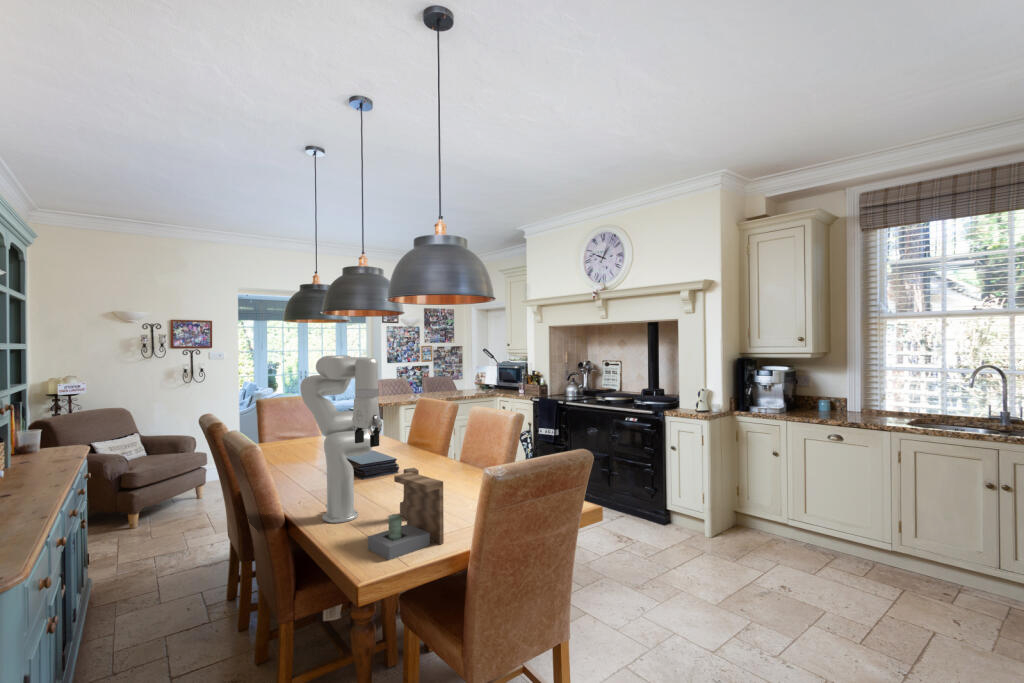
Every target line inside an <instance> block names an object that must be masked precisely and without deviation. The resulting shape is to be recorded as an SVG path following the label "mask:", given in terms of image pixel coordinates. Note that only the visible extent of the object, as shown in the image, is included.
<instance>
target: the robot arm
mask: <svg viewBox="0 0 1024 683" xmlns="http://www.w3.org/2000/svg"><path fill="white" fill-rule="evenodd" d="M315 370H316V373H318V374H314V375H310V376H309V375H308V376H306V377H305V378H303V379H302V380H301V382H300V386H299V387H300V396H301V398H302V401H303V403H304V405H305V406H306V407H307V409H308V410H309V412H311V414H312V415H313V418H314V419H315V422H316V424H317V426H318V429H319V431H320V432H321V434H322V436H324V437H325V438H324V440H323V441H324V442H323V448H324V449H323V450H324V455H325V461H326V462H325V464H326V504H325V508H326V513H324V514H323V515H322V520H323V521H324V522H326V523H329V524H330V523H332V524H335V523H336V524H338V523H345V522H350V521H353V520H354V519H356V518H358V516H359V511H357V510H356V509H355V489H354V487H355V483H354V482H355V478H354V477H355V473H354V466H353V465H352V463H351V462H350V461H349V460H348V459H349V458H351V457H357V456H364V455H367V454H369V453H370V452H371V450H373V449H372V448H374V447H380V434H381V431H382V426H383V421H382V420H381V418H380V406H379V405H380V404H379V399H378V398H379V362H378V360H377V358H373V357H366V356H358V357H356V356H351V355H346V354H345V355H344V354H343V355H325V356H322V357H320V358H319V359H318V360H317V361H316V363H315ZM352 379H354V391H355V392H354V402H353V410H348V411H338V410H337V408H336V405H335V404H334V403H333V402H332V401H331V400H329V399H328V398H327V397H326V396H338V395H339V396H340V395H343V394H344V393H345V392H346V391H347V389H348V387H349V385H350V383H351V381H352ZM324 396H325V397H324Z"/></svg>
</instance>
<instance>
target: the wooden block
mask: <svg viewBox="0 0 1024 683" xmlns="http://www.w3.org/2000/svg"><path fill="white" fill-rule="evenodd" d="M409 472H412V473H415V474H419V475H420V473H419V469H417V468H415V467H411V468H410V467H409V468H403V474H404V473H409ZM399 515H400V516H401V517H403V519H405V520H407V486H406V485H403V499H402V501H400V502H399Z"/></svg>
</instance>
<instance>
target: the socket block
mask: <svg viewBox="0 0 1024 683" xmlns="http://www.w3.org/2000/svg"><path fill="white" fill-rule="evenodd" d="M429 545H431V541H430V533H429V532H426V531H424V530H421V529H419V528H416V527H414V526H411V525H409V524H407V523H406V524H404V525H402V538H400V539H397V540H394V541H392V540H389V529H387V530H384V531H382V532H378V533H376V534H372V535H368V536H367V550H368V549H369V550H368V551H370V550H371V551H370V552H372V551H373V552H372V553H375V554H376V555H378V556H380V557H382V558H385V559H386V560H389V561H391V559H392V560H393V559H397V558H400V557H402V556H404V554H405V555H408V554H410V552H411V553H413V552H416V551H420V550H421V548H422V549H424V548H427V547H429ZM426 546H427V547H426ZM399 556H400V557H399ZM396 557H397V558H396Z"/></svg>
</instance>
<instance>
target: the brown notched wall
mask: <svg viewBox="0 0 1024 683" xmlns="http://www.w3.org/2000/svg"><path fill="white" fill-rule="evenodd" d="M393 480H394V481H393V482H395V483H397V484H401V485H403V486H404V485H406V486H407V519H406V524H409V525H411V526H414V527H416V528H419V529H421V530H424V531H426V532H429V533H430V540H431V541H430V542H432V541H433V542H432V543H434V542H436V543H435V544H437V543H438V544H437V545H439V544H441V545H443V544H442V543H444V542H445V541H444V540H445V539H444V538H445V535H444V531H445V530H444V525H445V524H444V481H443V480H439V479H437V478H436V479H435V478H432V477H429V476H425V475H421V474H420V473H419V474H415V473H412V472H409V473H404V472H403V473H401V474H395V475H394V477H393Z"/></svg>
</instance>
